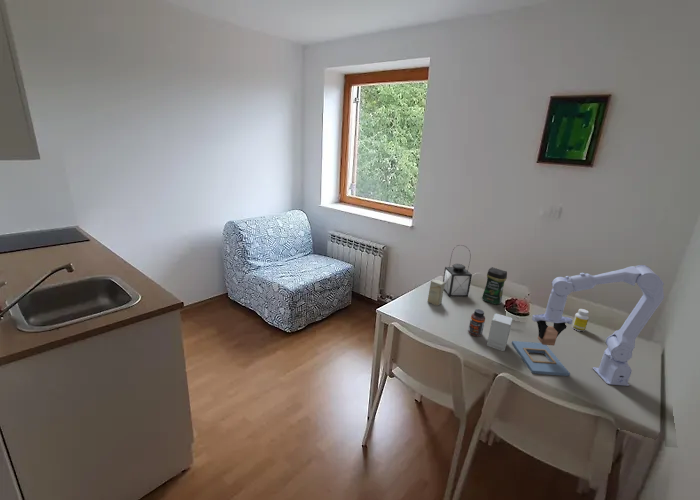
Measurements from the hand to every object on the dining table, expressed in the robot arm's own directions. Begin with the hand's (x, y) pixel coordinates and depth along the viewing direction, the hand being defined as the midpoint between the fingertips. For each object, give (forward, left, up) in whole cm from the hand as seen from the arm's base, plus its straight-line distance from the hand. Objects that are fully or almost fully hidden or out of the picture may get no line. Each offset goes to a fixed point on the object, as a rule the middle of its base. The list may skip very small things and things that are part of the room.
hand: (547, 337), depth 141 cm
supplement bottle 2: (+26, -30, -10) cm, 41 cm away
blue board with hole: (-1, +1, -10) cm, 10 cm away
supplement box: (+7, +15, -10) cm, 20 cm away
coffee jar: (+50, +3, -10) cm, 51 cm away
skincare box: (+43, +35, -10) cm, 57 cm away
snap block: (0, 0, -2) cm, 2 cm away
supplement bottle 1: (+15, +22, -10) cm, 29 cm away
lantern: (+58, +21, -10) cm, 63 cm away
